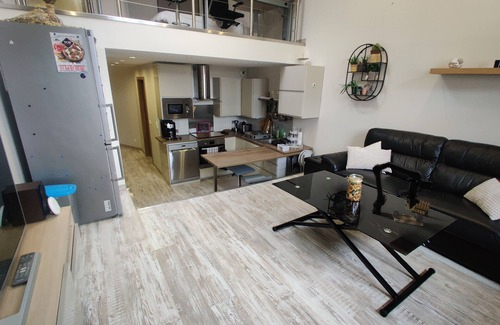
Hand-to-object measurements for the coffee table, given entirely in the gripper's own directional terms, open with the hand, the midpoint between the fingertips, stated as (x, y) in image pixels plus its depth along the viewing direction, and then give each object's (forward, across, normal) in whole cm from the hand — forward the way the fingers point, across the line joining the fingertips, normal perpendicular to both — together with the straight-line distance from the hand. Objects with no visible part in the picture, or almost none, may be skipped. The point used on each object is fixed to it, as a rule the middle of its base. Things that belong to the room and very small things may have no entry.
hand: (409, 207), depth 179 cm
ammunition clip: (+11, -17, +12) cm, 23 cm away
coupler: (+1, 0, 0) cm, 1 cm away
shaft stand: (+11, 0, 0) cm, 11 cm away
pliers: (+12, +22, -19) cm, 31 cm away
